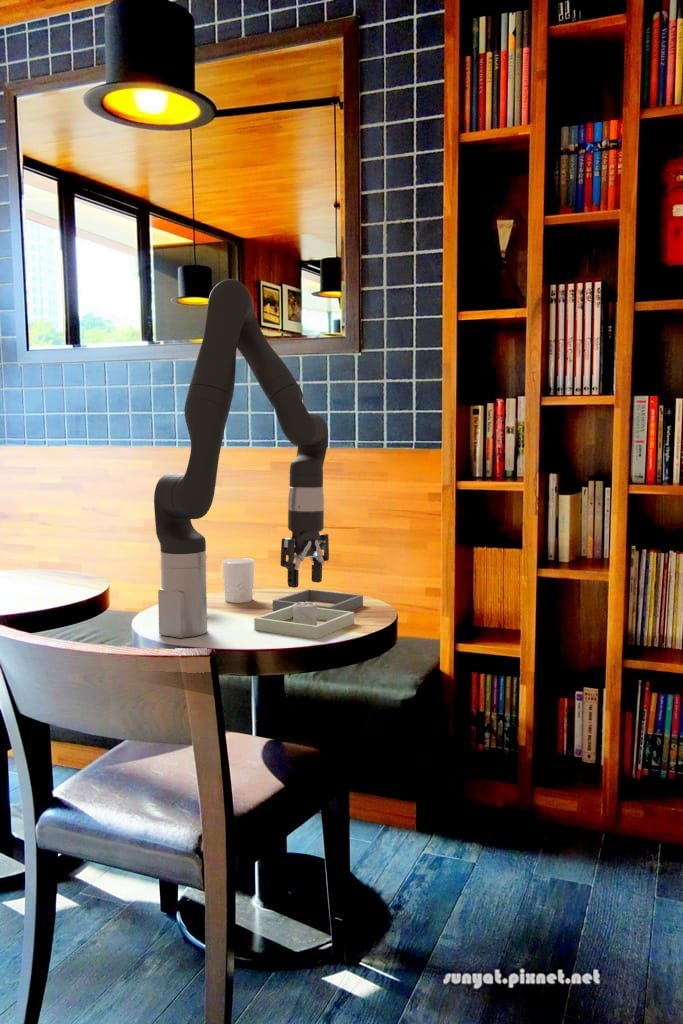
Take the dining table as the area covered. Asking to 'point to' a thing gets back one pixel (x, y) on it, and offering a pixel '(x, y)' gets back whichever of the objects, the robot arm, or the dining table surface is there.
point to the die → (305, 613)
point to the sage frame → (278, 625)
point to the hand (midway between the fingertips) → (305, 584)
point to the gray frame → (342, 599)
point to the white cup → (238, 579)
